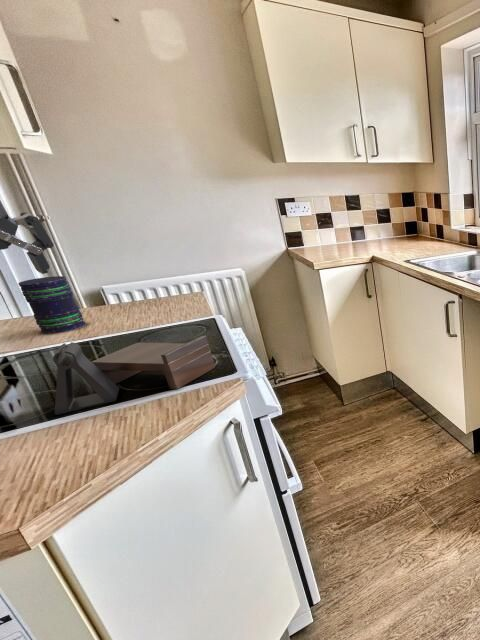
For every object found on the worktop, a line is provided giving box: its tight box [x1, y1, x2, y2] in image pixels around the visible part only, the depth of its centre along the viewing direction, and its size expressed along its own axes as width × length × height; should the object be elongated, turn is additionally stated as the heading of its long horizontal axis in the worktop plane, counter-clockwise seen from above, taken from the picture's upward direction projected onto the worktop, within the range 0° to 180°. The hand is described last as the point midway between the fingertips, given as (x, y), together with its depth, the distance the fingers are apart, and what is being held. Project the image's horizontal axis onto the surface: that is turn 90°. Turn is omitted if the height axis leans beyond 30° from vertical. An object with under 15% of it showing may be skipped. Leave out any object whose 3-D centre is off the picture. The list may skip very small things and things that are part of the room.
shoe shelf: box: [91, 335, 216, 390], centre depth 94 cm, size 18×11×8 cm, turn 85°
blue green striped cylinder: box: [17, 275, 86, 335], centre depth 125 cm, size 10×10×15 cm
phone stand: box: [52, 341, 120, 416], centre depth 83 cm, size 9×6×12 cm, turn 126°
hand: (12, 281), depth 74 cm, fingers open, 8 cm apart
